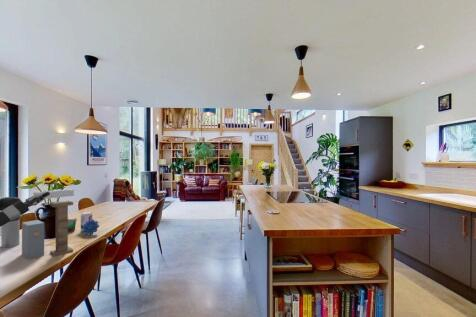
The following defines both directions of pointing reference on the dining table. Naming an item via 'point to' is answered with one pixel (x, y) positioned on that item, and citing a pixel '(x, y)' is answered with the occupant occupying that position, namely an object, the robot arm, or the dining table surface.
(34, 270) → the dining table surface
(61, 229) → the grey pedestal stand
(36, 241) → the block
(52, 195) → the steel spout bar
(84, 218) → the supplement can
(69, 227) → the food container
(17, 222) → the robot arm
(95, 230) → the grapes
